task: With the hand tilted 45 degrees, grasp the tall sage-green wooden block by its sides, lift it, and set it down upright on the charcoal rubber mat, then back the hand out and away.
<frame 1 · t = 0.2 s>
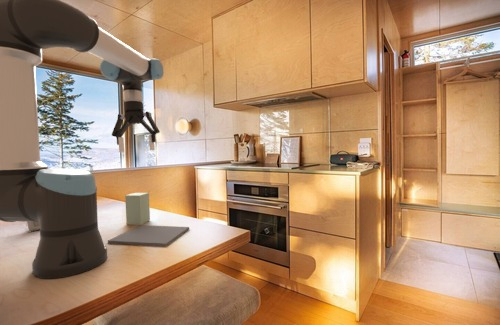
hand: (137, 151, 112), 27 cm above the table, tool pointing down, fingers open, 13 cm apart
digital clock: (54, 226, 99), on the table
mat: (151, 235, 85), on the table
sage block: (138, 222, 101), on the table
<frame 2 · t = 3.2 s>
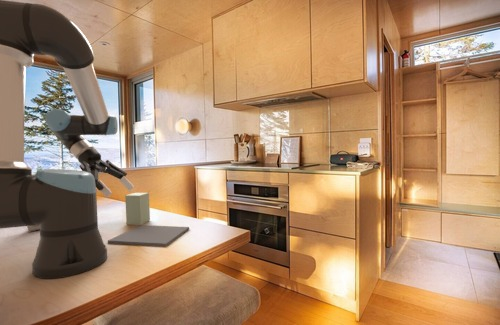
hand: (121, 192, 103), 11 cm above the table, tool tilted 45°, fingers open, 13 cm apart
nothing on the table moved.
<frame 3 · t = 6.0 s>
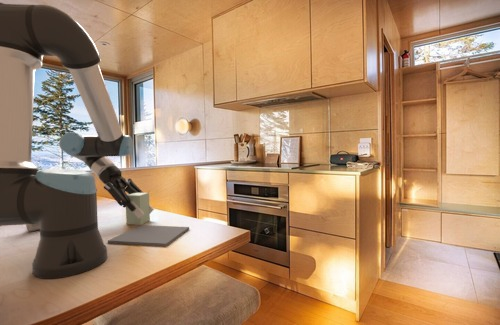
hand: (146, 213, 100), 3 cm above the table, tool tilted 45°, fingers closed on sage block, 6 cm apart
sage block: (138, 222, 101), on the table, touching gripper
everything else where it was.
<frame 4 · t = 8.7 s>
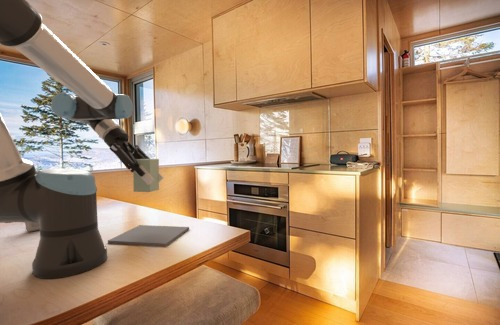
hand: (156, 181, 90), 17 cm above the table, tool tilted 45°, fingers closed on sage block, 6 cm apart
sage block: (146, 190, 91), point 14 cm above the table, touching gripper
everything else where it was.
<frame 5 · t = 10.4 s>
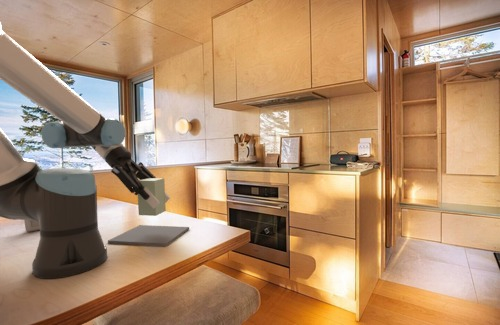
hand: (162, 202, 84), 11 cm above the table, tool tilted 45°, fingers closed on sage block, 6 cm apart
sage block: (152, 212, 85), point 7 cm above the table, touching gripper
when the fingers open (6 cm above the table, at t = 11.6 s): sage block drops 2 cm, resting on mat.
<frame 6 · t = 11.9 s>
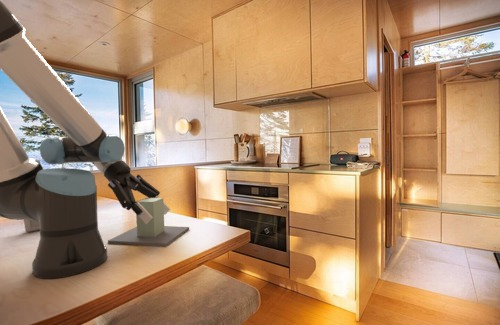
hand: (159, 216, 84), 7 cm above the table, tool tilted 45°, fingers open, 10 cm apart
sage block: (151, 233, 84), point 1 cm above the table, touching mat
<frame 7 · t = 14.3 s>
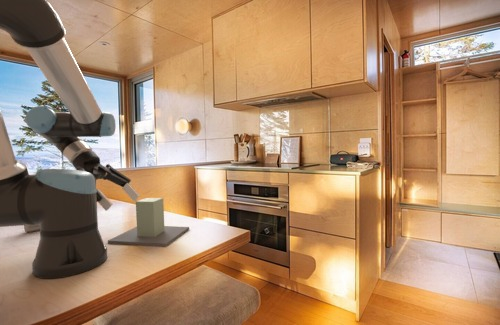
hand: (124, 202, 86), 11 cm above the table, tool tilted 45°, fingers open, 13 cm apart
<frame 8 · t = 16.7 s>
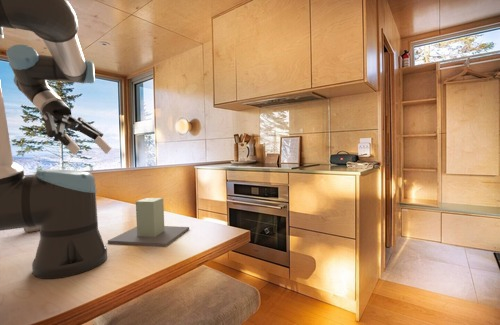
hand: (94, 151, 87), 28 cm above the table, tool tilted 45°, fingers open, 13 cm apart
at the end: sage block inside the target area on the mat (0.1 cm from its centre), point 0.8 cm above the mat's base; sage block tilted 0°; the gripper is holding nothing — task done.
